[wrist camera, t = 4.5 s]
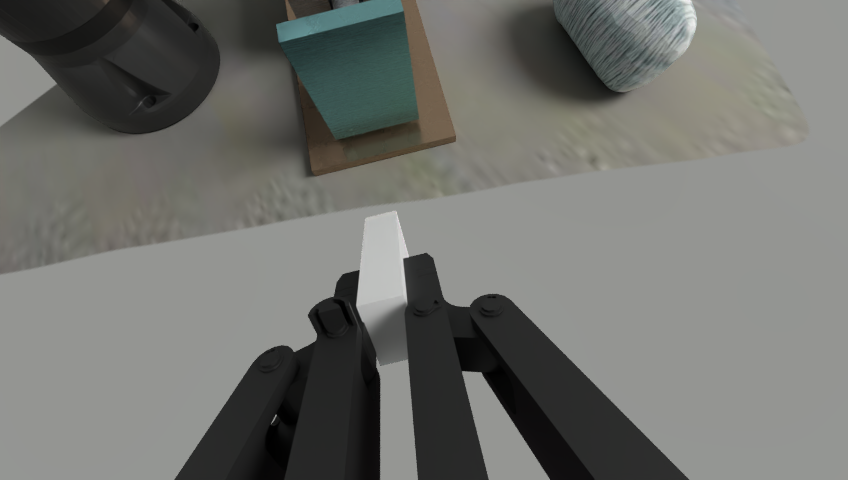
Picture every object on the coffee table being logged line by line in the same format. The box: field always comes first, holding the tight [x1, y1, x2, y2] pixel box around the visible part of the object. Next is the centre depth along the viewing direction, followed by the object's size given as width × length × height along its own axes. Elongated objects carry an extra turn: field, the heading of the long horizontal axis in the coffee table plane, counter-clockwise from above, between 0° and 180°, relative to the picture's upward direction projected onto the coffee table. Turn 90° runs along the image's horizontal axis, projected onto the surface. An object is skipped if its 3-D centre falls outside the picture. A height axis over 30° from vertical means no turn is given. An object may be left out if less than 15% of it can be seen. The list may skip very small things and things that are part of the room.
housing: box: [285, 0, 456, 176], centre depth 32 cm, size 27×14×9 cm, turn 13°
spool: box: [553, 0, 697, 92], centre depth 31 cm, size 14×10×10 cm
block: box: [276, 0, 419, 140], centre depth 28 cm, size 14×8×11 cm, turn 13°
